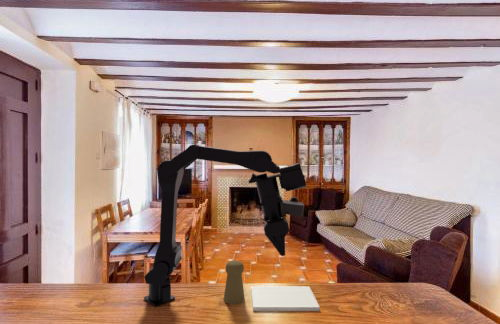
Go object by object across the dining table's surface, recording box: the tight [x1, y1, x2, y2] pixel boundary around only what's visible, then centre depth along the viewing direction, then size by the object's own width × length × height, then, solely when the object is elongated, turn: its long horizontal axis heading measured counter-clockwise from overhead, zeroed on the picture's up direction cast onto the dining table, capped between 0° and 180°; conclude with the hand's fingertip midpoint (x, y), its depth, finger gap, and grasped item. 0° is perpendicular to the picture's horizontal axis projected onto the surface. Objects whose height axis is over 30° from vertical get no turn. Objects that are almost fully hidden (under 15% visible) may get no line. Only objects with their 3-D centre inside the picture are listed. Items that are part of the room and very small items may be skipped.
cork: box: [223, 260, 246, 306], centre depth 95 cm, size 6×6×11 cm
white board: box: [250, 285, 321, 312], centre depth 96 cm, size 18×13×1 cm
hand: (282, 249), depth 92 cm, fingers open, 9 cm apart
